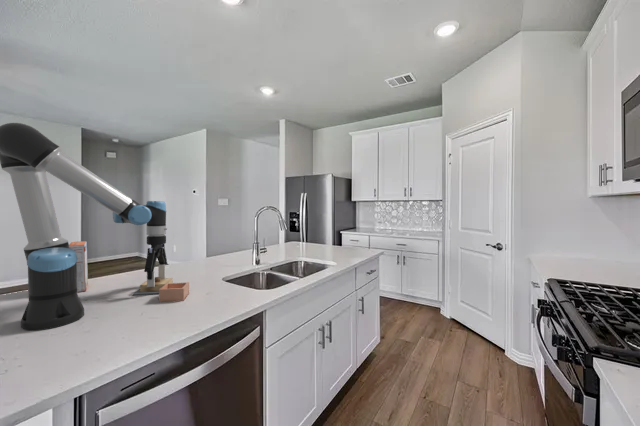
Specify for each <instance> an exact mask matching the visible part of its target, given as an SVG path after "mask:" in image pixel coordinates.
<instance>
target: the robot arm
mask: <svg viewBox="0 0 640 426" xmlns="http://www.w3.org/2000/svg"><path fill="white" fill-rule="evenodd" d="M0 167H1V170H2V171H4V172H6V173H7V174H9V176H10V179H11V182H12V186H13V190H14V194H15V197H16V201H17V205H18V209H19V212H20V216H21V220H22V224H23V228H24V231H25V235H26V239H27V244H26V245H25V247H23V252H24V256H25V259H26V266H27V284H28V285H27V287H28V288H27V289H28V292H27V293H28V301H27V305H26V307H25V309H24V311H23V315H22V316H21V319H20V328H21V329H22V330H24V331H39V330H48V329H53V328H58V327H61V326H65V325H69V324H70V323H71V324H72V323H74V322H77V321H79V320H80V319H82V318H83V317H84V316H85V307H84V305H83V303H82V300H81V299H80V297H79V294H78V292H77V255H76V251H75V250H73V249H71V248H70V247H69V244H70V243H69V240H68V239H66V238H63V237H62V234H61V231H60V225H59V222H58V218H57V214H56V210H55V206H54V202H53V198H52V192H51V190H50V186H49V182H48V178H47V174H46V172H47V173H49V174H50V175H53V177H55V178H57V179H59V180H60V181H62V182H63V183H65V184H67V186H70V187H72V188H74V189H75V190H76V191H78V192H79V193H81V194H84V196H87V198H90V199H92V201H95V202H97V203H99V204H100V205H101V206H104V207H105V208H106V209H108V210H110V211H111V212H112V221H113V222H114V223H115V224H132V225H134V226H142V225H145V224H146V235H147V236H146V244H147V245H148V246H149V245H150V247H148V248H147V255H146V258H145V265H144V271H143V272H144V273H146V281H147V287H154V286H155V277H156V276H155V266H156V262H157V261H158V267H157V268H158V273H157V274H158V275H157V277H160V279H164V278H166V265H168V260H167V253H166V249H165V244H166V243H167V235H166V234H167V230H168V227H167V204H166V202H165V201H163V200H148V201H146V203H145V204H143V205H142V204H140V203H139V202H137V201H136V200H134V199H133V198H131V197H130V196H128V195H127V194H126V193H125V192H123V191H121V190H119V189H118V188H116V187H115V186H114V185H112V184H110V183H109V182H107V181H106V180H104V179H103V178H101V176H98V175H96V174H95V173H93V172H92V171H91V170H89V169H88V168H86V167H85V166H83V165H82V164H80V163H79V162H78V161H76V160H74V159H73V158H72V157H70V156H68V155H67V154H65V152H62V148H61V146H59V145H58V144H56V143H55V142H54V141H52V140H51V139H49V138H48V137H47V136H45V135H44V134H43V133H42V132H40V131H39V130H37V128H34V127H33V126H31V125H28V124H25V123H21V122H9V123H7V122H6V123H5V124H2V125H0Z"/></svg>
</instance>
